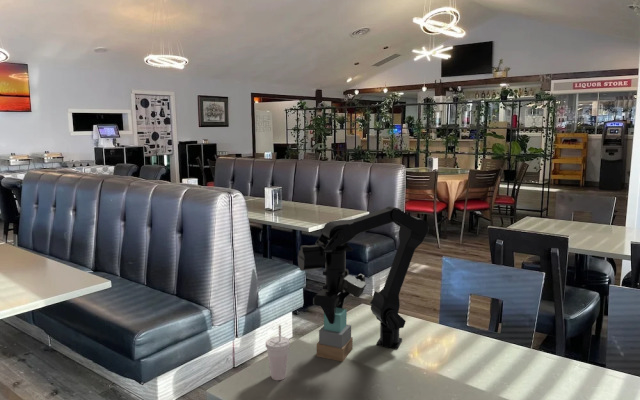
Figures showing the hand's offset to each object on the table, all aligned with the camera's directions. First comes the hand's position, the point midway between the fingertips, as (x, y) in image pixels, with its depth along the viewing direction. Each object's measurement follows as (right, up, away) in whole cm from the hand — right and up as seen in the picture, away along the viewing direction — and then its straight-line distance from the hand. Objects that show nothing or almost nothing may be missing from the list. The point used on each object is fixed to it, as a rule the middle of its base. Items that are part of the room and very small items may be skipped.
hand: (335, 319), depth 132 cm
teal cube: (0, -2, 0) cm, 2 cm away
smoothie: (-15, -12, -11) cm, 23 cm away
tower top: (0, -6, +1) cm, 6 cm away
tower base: (0, -10, +2) cm, 10 cm away
